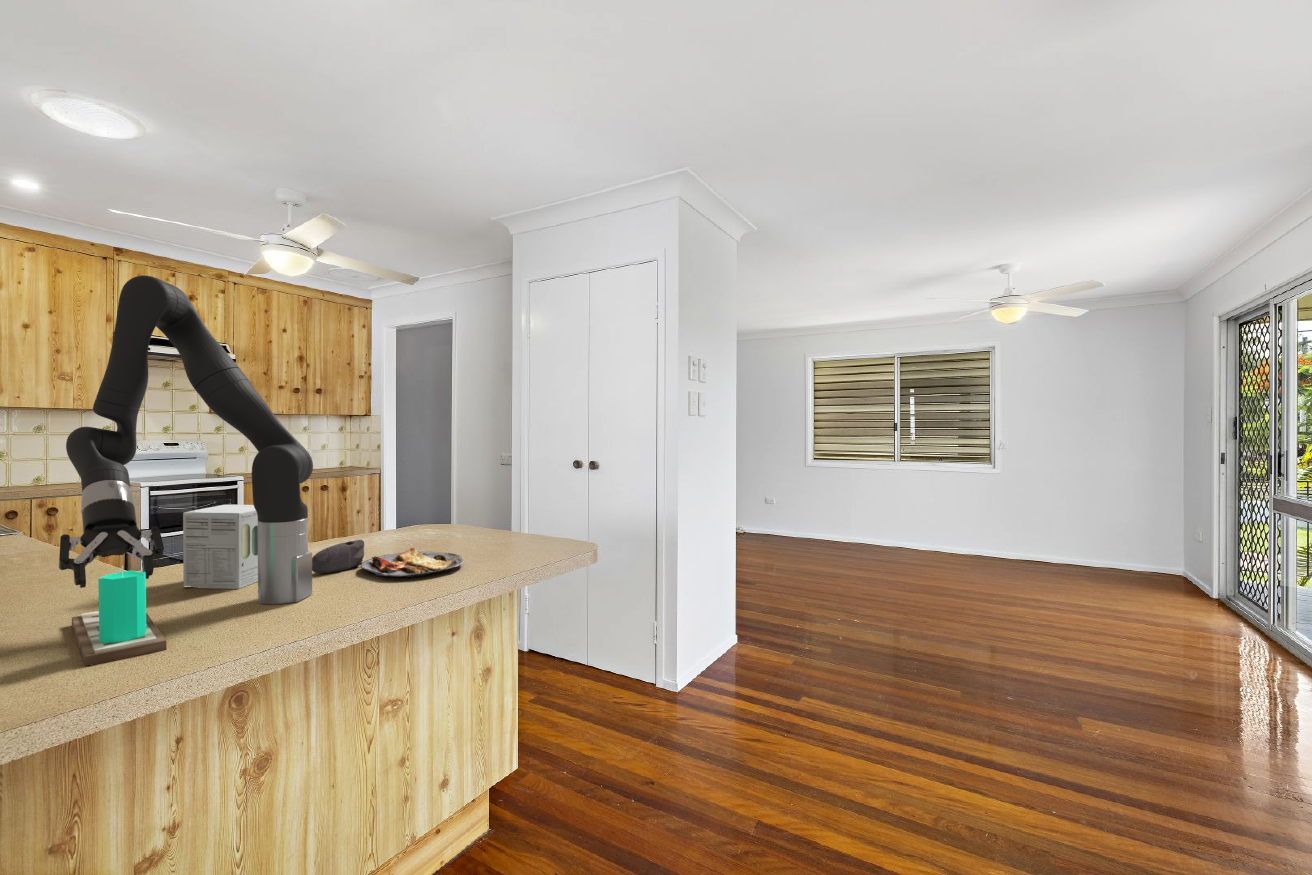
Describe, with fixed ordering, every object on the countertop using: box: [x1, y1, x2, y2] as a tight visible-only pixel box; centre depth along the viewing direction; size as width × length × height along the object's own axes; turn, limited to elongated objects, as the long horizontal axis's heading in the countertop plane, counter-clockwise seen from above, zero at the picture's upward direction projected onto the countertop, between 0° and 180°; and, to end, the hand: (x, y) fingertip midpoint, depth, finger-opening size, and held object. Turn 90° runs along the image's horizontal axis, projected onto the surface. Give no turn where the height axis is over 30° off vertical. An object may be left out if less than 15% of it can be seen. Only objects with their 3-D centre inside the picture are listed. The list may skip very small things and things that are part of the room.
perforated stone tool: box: [312, 539, 365, 574], centre depth 156 cm, size 15×5×7 cm, turn 150°
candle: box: [97, 565, 147, 643], centre depth 102 cm, size 6×6×12 cm
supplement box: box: [182, 504, 258, 590], centre depth 145 cm, size 13×13×18 cm
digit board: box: [71, 610, 168, 667], centre depth 108 cm, size 27×10×2 cm, turn 47°
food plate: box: [360, 547, 465, 578], centre depth 159 cm, size 25×23×4 cm
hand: (116, 580), depth 109 cm, fingers open, 8 cm apart
